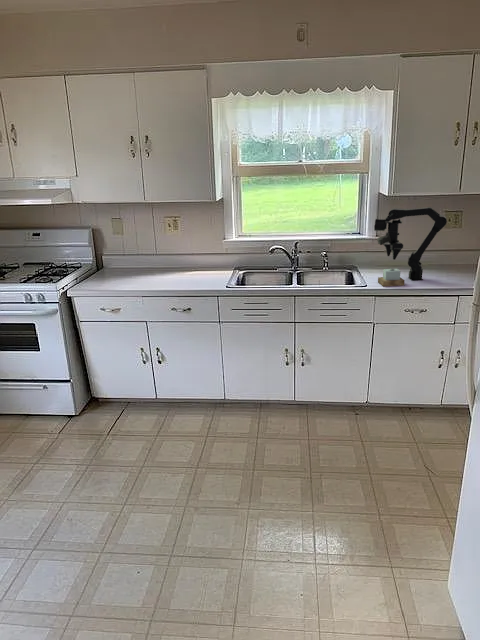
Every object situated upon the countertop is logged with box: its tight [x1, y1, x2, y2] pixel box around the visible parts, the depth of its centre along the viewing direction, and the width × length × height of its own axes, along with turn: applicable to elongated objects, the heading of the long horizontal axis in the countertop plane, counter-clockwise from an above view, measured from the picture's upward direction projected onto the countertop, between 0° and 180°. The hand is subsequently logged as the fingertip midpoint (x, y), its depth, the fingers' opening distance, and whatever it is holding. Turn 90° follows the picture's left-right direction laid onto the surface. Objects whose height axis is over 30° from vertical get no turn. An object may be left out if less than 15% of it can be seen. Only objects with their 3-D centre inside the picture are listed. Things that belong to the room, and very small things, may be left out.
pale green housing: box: [382, 268, 402, 280], centre depth 268 cm, size 6×8×6 cm
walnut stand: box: [377, 276, 406, 288], centre depth 269 cm, size 12×9×3 cm
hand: (391, 257), depth 278 cm, fingers open, 9 cm apart
